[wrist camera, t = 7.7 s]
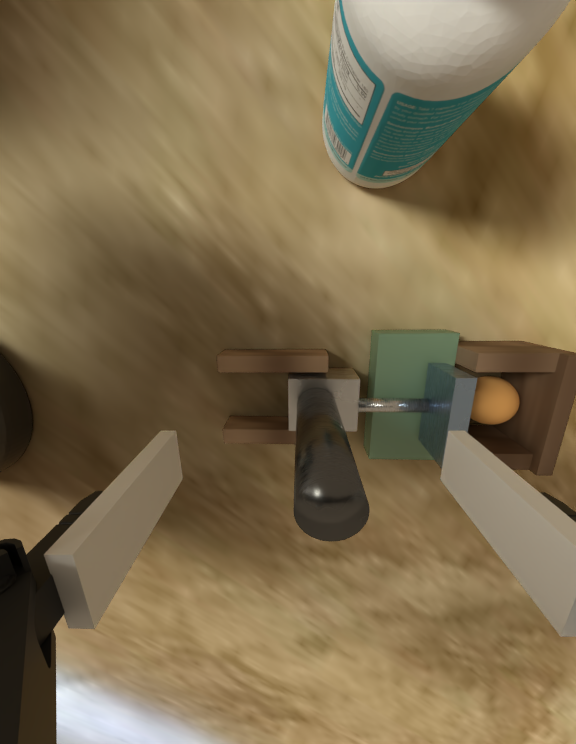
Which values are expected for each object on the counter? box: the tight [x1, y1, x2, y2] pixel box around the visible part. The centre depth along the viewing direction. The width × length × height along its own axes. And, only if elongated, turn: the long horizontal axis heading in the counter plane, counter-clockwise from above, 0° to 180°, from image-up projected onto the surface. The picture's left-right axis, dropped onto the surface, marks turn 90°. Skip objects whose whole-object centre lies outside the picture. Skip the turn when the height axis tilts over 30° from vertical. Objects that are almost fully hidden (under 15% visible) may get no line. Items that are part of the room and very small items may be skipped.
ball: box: [470, 376, 520, 425], centre depth 21 cm, size 4×4×4 cm
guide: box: [217, 349, 329, 444], centre depth 22 cm, size 8×7×2 cm
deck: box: [364, 330, 460, 460], centre depth 22 cm, size 6×10×2 cm, turn 1°
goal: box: [455, 341, 576, 475], centre depth 20 cm, size 6×8×5 cm
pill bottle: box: [322, 0, 570, 188], centre depth 11 cm, size 8×7×14 cm
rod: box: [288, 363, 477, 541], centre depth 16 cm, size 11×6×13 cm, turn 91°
